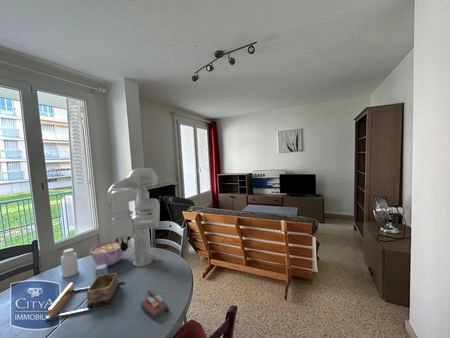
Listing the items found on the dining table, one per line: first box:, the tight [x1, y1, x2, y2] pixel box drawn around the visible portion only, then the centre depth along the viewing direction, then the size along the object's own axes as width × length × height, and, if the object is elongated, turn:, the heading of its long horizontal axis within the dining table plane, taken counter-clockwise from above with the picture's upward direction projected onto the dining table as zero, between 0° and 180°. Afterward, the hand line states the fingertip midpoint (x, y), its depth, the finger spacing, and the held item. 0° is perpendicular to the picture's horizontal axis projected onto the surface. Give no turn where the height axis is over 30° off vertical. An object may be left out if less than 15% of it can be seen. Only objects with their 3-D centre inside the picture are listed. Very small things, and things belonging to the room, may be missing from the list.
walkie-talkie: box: [140, 290, 170, 321], centre depth 93 cm, size 9×4×20 cm
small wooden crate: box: [85, 272, 120, 308], centre depth 101 cm, size 10×15×8 cm, turn 14°
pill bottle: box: [60, 248, 79, 278], centre depth 123 cm, size 8×8×15 cm
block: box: [94, 264, 109, 278], centre depth 115 cm, size 4×4×8 cm
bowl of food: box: [89, 240, 125, 267], centre depth 133 cm, size 20×20×12 cm
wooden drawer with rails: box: [45, 280, 125, 321], centre depth 99 cm, size 27×19×5 cm
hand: (124, 250), depth 102 cm, fingers closed
